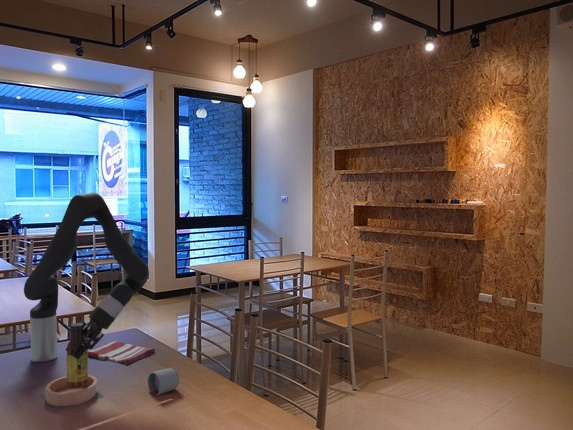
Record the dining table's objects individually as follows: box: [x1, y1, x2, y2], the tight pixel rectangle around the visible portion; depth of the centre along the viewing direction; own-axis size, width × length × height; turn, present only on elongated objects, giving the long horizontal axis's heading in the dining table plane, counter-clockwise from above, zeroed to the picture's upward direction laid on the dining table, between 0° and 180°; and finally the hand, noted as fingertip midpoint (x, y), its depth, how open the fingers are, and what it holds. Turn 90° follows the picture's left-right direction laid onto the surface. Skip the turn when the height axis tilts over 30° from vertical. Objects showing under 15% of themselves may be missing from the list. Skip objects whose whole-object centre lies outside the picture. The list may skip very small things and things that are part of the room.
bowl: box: [44, 374, 99, 407], centre depth 154 cm, size 15×15×4 cm
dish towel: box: [88, 340, 156, 366], centre depth 194 cm, size 17×23×3 cm
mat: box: [40, 390, 105, 413], centre depth 154 cm, size 15×15×1 cm
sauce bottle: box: [66, 322, 89, 387], centre depth 155 cm, size 6×6×20 cm
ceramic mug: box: [147, 367, 180, 396], centre depth 160 cm, size 11×8×8 cm
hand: (71, 354), depth 153 cm, fingers closed on sauce bottle, 6 cm apart
